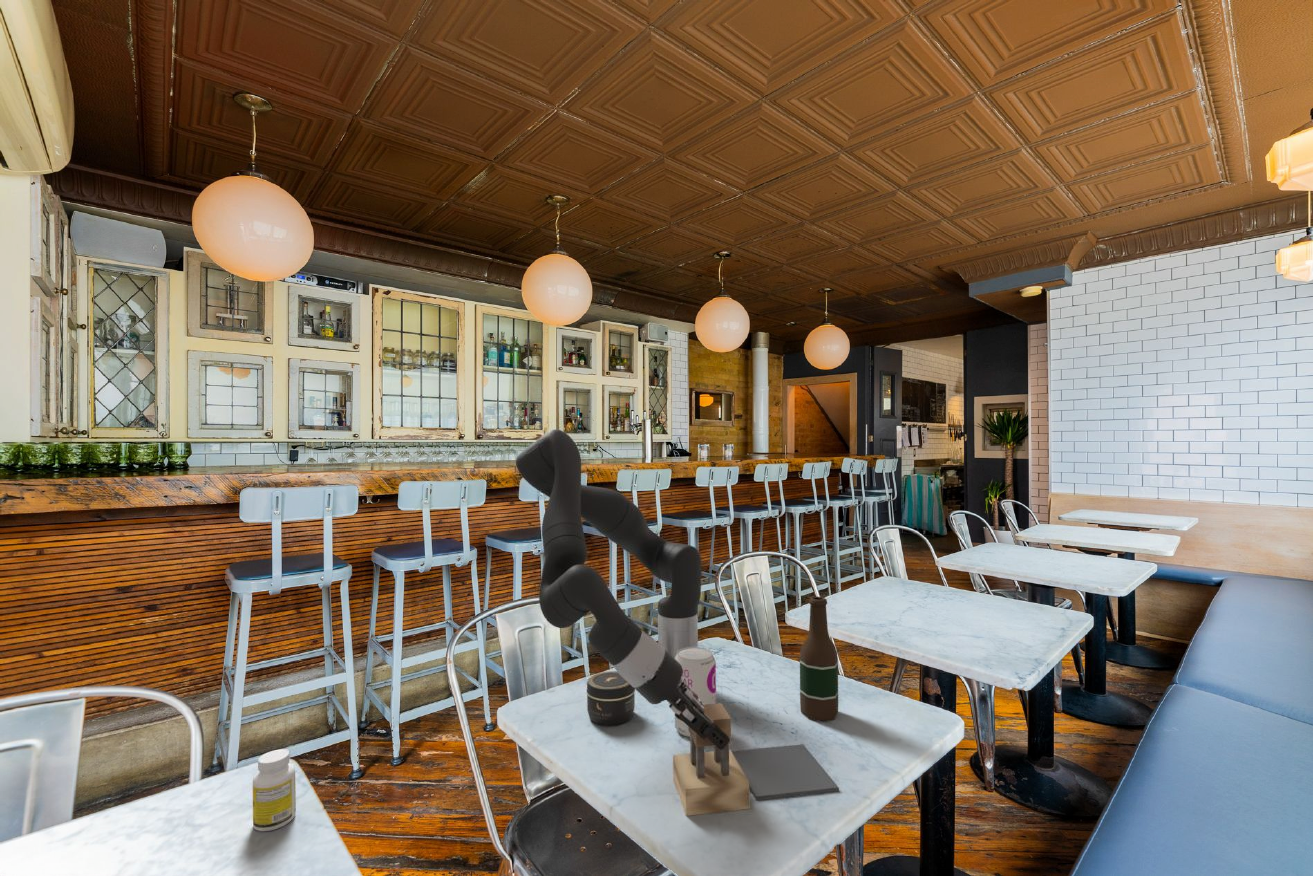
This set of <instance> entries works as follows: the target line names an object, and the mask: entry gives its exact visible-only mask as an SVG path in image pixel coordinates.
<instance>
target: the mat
mask: <svg viewBox="0 0 1313 876" xmlns="http://www.w3.org/2000/svg"><path fill="white" fill-rule="evenodd" d="M731 752H732V753H733V755H734V757H735V759H736V760H737V762H738V764H739V765H740V767H741V769H742V771H743V772H744V774H745V776H746V778H747V779H748V781H749V792H751V794H752V796H753V798H754V800H755V801H760V800H761V801H762V800H763V801H764V800H770V799H772V800H773V799H780V798H788V797H797V796H806V795H816V794H824V793H832V792H833V793H834V792H840V791H839V790H840V787H839V786H838V784H837V783H836V782H835V781H834V780H833V779H832V778H831V776H830V775H829V773H828V772H827V771H826V770H825V768H824V767H822V765H821V764H820V762H819V761H818V760H817V759H816V758H815V756H813V754H812V753H811V752H810V751H809V750H808V748H807V747H806V746H805V745H804V743H803V744H802V743H801V744H791V745H780V746H772V747H771V746H770V747H761V748H749V749H748V748H747V749H741V750H740V749H739V750H738V749H737V750H731Z"/></svg>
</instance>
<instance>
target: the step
mask: <svg viewBox="0 0 1313 876" xmlns="http://www.w3.org/2000/svg"><path fill="white" fill-rule="evenodd" d="M731 751H732V750H731V749H729V775H728V776H722V774H721V762H717V763H716V762H715V760H714V750H712V751H704V757H705V778H699V779H698V778H697V776H696V765H692V764H691V760H690V753H682V754H673V755H672V775H673V776H672V780H673V782H674V786H675V789H676V790H677V794H678V797H679V799H680V803H681V805H682V808H683V810H684V811H683V812H684V815H685V817H688V816H697V815H705V814H715V813H721V812H722V813H724V812H732V811H739V810H740V811H741V810H749V809H750V789H749V781H748V779H747V778H746V776H745V774H744V772H743V771H742V769H741V767H740V765H739V764H738V762H737V760H736V759H735V757H734V755H733V753H732V752H731Z"/></svg>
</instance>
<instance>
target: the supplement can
mask: <svg viewBox="0 0 1313 876" xmlns="http://www.w3.org/2000/svg"><path fill="white" fill-rule="evenodd" d="M675 660H676V661H677V662H679V663H680V664H681V666H682V668H683V673H682V677H681V680H682V681H684V682H685V683H686V684H687V685H688V686H689V688H690V689H691V690H693V691H694V692H695V693H696V694H697V696H698V699H699V700H701V701H702V702H703V704H704V705H706V704H717V669H716V668H717V667H716V665H717V663H716V662H717V661H716V659H715V657H714V654H713V652H712V650H710V649H707V648H705V647H701V646H700V647H699V646H698V647H687V648H683V649H681V650H679V651H678V652H677V655H676V657H675ZM678 716H679V715H678V714H676V713H674V728H675V729H676V731H678V733H679V734H680V735H682V736H684V737H687V738H690V733H689V730H688V726H687V725H686V724H685V723H684V722H683V721H681V720H680V719H679V717H678Z"/></svg>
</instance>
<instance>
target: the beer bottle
mask: <svg viewBox="0 0 1313 876" xmlns="http://www.w3.org/2000/svg"><path fill="white" fill-rule="evenodd" d="M827 600H828V599H827V598H825V597H822V596H812V597H810V598H809V601H808V604H809V605H810V606H809V607H810V608H809V627H808V634H807V638H806V639H805V641H803V643H802V646H801V648H800V651H799V652H800V654H799V699H800V700H799V703H800V704H799V706H800V713H801V714H802V715H804V716H805V717H806V718H807V719H808V720H811V721H812V720H813V721H818V722H823V723H824V722H829V721H834V720H835V719H836V718H837V715H838V713H839V659H838V651H837V649H836V645H835V644H834V642H833V640H832V639H831V638H830V635H829V628H828V616H827V605H828V601H827Z"/></svg>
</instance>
